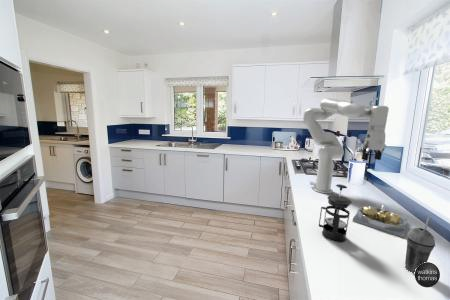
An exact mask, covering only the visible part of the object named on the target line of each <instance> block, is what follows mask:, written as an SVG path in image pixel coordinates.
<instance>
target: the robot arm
mask: <svg viewBox="0 0 450 300" xmlns="http://www.w3.org/2000/svg"><path fill="white" fill-rule="evenodd" d="M388 113H389V107H388V106H386V105H366V104H357V103H356V104H355V103H350V102H348V101H346V100H341V99H336V98H323V100H321V102H320V104H319V107H310V108H308V109H306V110H305V112H304V114H303V123H304V126H305V127H306V128H307V130H308V132H309V133H310V136H311V138H312V140H313V142H314V144H316V145H317V146H321V147H320V148H319V150H318V151H317V155H318V164H317V171H316V173H317V174H316V181H309V185H311V186H312V190H313V191H315V192H317V193H321V194H327V195H328V194H332V193H333V189H332V180H333V175H334V174H333V173H334V169H335V168H334V165H335V164H334V161H333V160H337V159H341V158H342V157H343V156H344V154H345V153H344V152H345V150H344V148H343V146H342V145H341V143H340V141H339V139H338V137H337V136H336V135H335V133H333V132H331V131H325V129H323V127H322V125H321V124H320V122H318V121H325V120H327V119H328V118H330V117H332V116H333V115H335V114H336V115H339V116H340V115H341V116H343V117H348V118H353V119H359V120H360V119H361V120H362V119H363V120H369V123H368V129H367V132H366V134H365V139H364V142H363V143H361V144H360V149H361V160H364V161H368V159H369V154H370V153H369V151H376V152H375V153H374V159H375V160H378V161H381V160H382V154H383V152H384V151H385V148H386V147H387V144H386V125H387V121H388V117H389V116H388V115H389V114H388Z"/></svg>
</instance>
